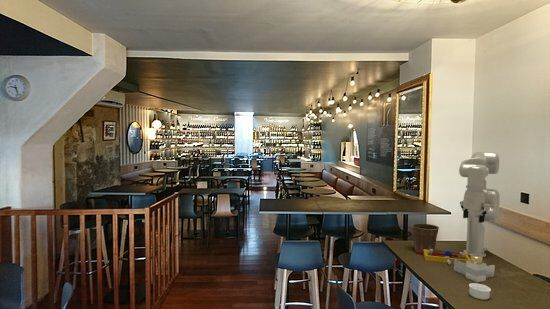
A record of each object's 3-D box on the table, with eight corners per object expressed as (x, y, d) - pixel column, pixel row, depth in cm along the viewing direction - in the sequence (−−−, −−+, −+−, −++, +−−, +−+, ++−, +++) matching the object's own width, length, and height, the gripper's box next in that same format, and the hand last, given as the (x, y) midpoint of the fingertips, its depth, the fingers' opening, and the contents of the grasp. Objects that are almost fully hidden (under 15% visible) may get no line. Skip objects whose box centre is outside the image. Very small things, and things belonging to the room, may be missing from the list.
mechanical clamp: (416, 243, 227) (468, 249, 218) (415, 253, 227) (468, 259, 219) (419, 252, 209) (476, 258, 201) (418, 262, 210) (475, 269, 201)
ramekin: (482, 292, 170) (483, 283, 170) (494, 300, 161) (495, 291, 161) (464, 291, 170) (464, 282, 170) (475, 300, 161) (476, 290, 161)
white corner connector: (471, 267, 203) (472, 251, 202) (499, 278, 187) (500, 261, 187) (449, 270, 197) (450, 254, 196) (476, 282, 181) (477, 264, 181)
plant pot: (405, 247, 236) (406, 223, 236) (425, 246, 242) (426, 222, 241) (423, 255, 221) (424, 230, 220) (443, 253, 227) (445, 228, 226)
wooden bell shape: (474, 274, 189) (475, 254, 188) (483, 278, 184) (484, 257, 183) (467, 276, 187) (468, 255, 186) (476, 279, 182) (477, 258, 182)
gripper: (456, 186, 200) (454, 217, 201) (484, 192, 184) (483, 225, 185) (466, 186, 202) (464, 215, 204) (494, 191, 186) (493, 223, 188)
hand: (473, 220), depth 194 cm, fingers open, 9 cm apart
